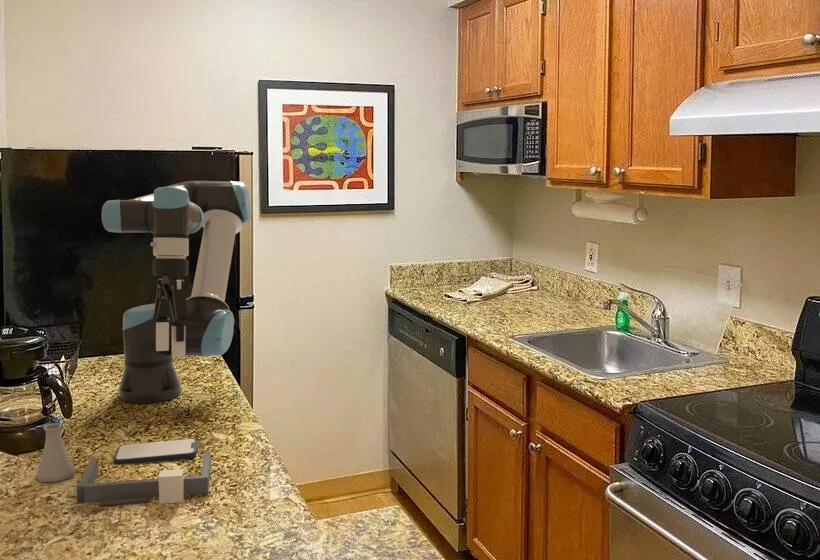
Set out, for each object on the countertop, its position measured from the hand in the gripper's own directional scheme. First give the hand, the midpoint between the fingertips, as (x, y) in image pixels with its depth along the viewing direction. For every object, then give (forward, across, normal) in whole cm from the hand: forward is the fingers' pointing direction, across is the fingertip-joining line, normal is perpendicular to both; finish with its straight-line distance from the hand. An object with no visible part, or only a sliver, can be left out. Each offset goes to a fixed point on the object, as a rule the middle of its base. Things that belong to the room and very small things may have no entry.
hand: (170, 353), depth 170 cm
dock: (+22, +25, -11) cm, 35 cm away
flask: (+21, +11, -24) cm, 34 cm away
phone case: (+20, +10, -5) cm, 23 cm away
